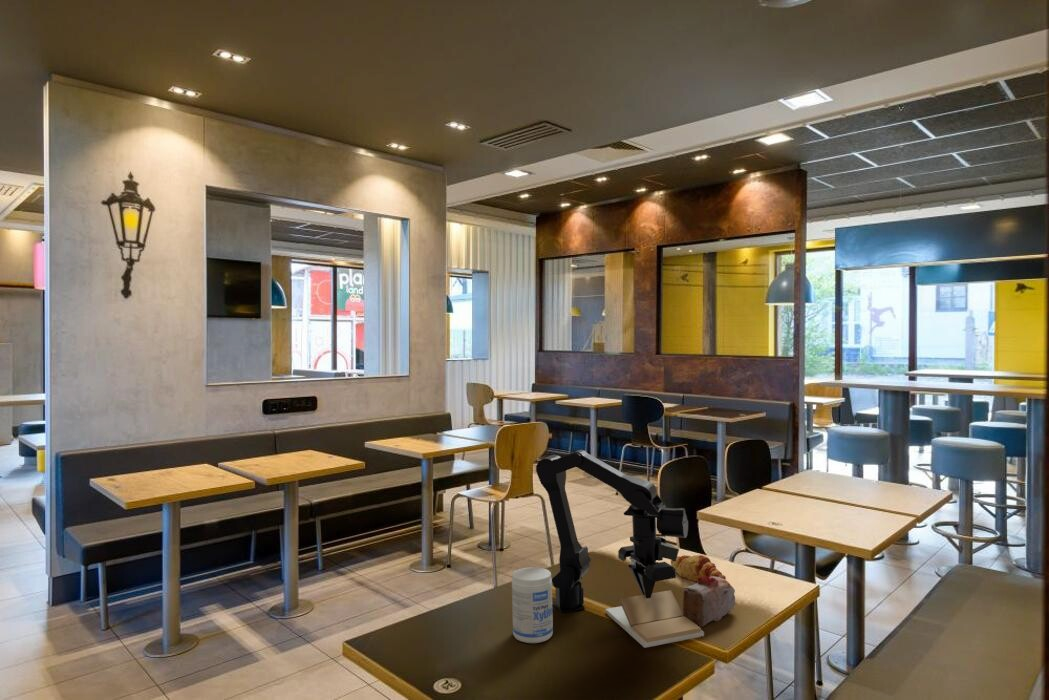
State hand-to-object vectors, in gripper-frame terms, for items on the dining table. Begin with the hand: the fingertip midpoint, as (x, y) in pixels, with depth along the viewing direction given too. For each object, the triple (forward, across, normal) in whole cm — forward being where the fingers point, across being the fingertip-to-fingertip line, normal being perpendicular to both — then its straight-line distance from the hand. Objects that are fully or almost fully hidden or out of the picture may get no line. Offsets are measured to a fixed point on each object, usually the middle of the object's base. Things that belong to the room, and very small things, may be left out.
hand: (646, 596), depth 155 cm
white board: (+6, -2, 0) cm, 6 cm away
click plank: (+2, -2, 0) cm, 3 cm away
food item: (+6, -4, -15) cm, 17 cm away
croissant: (+6, +21, -28) cm, 35 cm away
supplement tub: (+6, +2, +29) cm, 30 cm away
